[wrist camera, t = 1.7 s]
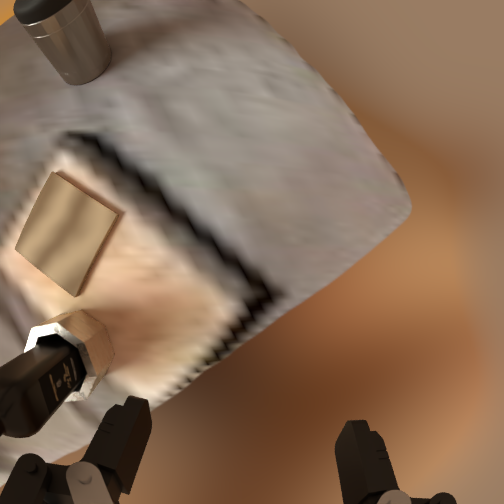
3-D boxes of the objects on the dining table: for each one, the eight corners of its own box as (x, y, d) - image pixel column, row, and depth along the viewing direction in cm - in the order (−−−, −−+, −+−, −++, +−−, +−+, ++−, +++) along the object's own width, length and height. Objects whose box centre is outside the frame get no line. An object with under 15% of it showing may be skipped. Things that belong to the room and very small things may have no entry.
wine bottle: (94, 327, 37) (-46, 437, 7) (101, 364, 37) (-8, 501, 7) (61, 326, 36) (-84, 415, 6) (68, 362, 36) (-51, 476, 6)
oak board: (18, 249, 34) (14, 249, 33) (54, 172, 35) (52, 171, 34) (77, 296, 36) (74, 297, 35) (119, 215, 37) (117, 214, 36)
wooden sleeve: (44, 352, 35) (19, 369, 27) (65, 298, 36) (38, 308, 28) (98, 389, 37) (80, 414, 29) (123, 337, 37) (105, 356, 29)
